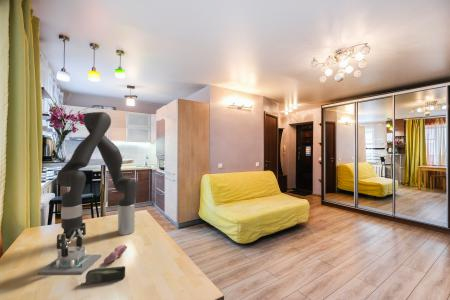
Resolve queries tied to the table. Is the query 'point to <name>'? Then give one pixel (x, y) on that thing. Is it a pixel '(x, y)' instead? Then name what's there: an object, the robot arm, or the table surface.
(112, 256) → the pink oblong lump
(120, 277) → the mobile phone
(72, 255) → the block
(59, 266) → the docking tray
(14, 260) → the table surface
